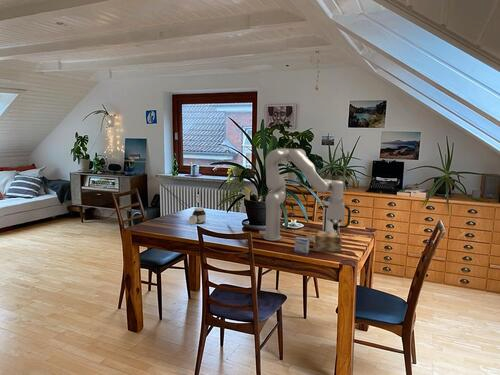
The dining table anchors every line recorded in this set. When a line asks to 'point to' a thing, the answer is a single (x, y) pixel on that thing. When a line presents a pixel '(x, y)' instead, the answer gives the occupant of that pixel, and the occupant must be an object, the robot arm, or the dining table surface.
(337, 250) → the carton
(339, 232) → the flap
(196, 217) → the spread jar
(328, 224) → the coffee press
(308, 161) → the robot arm
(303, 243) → the medicine box
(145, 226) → the dining table surface
